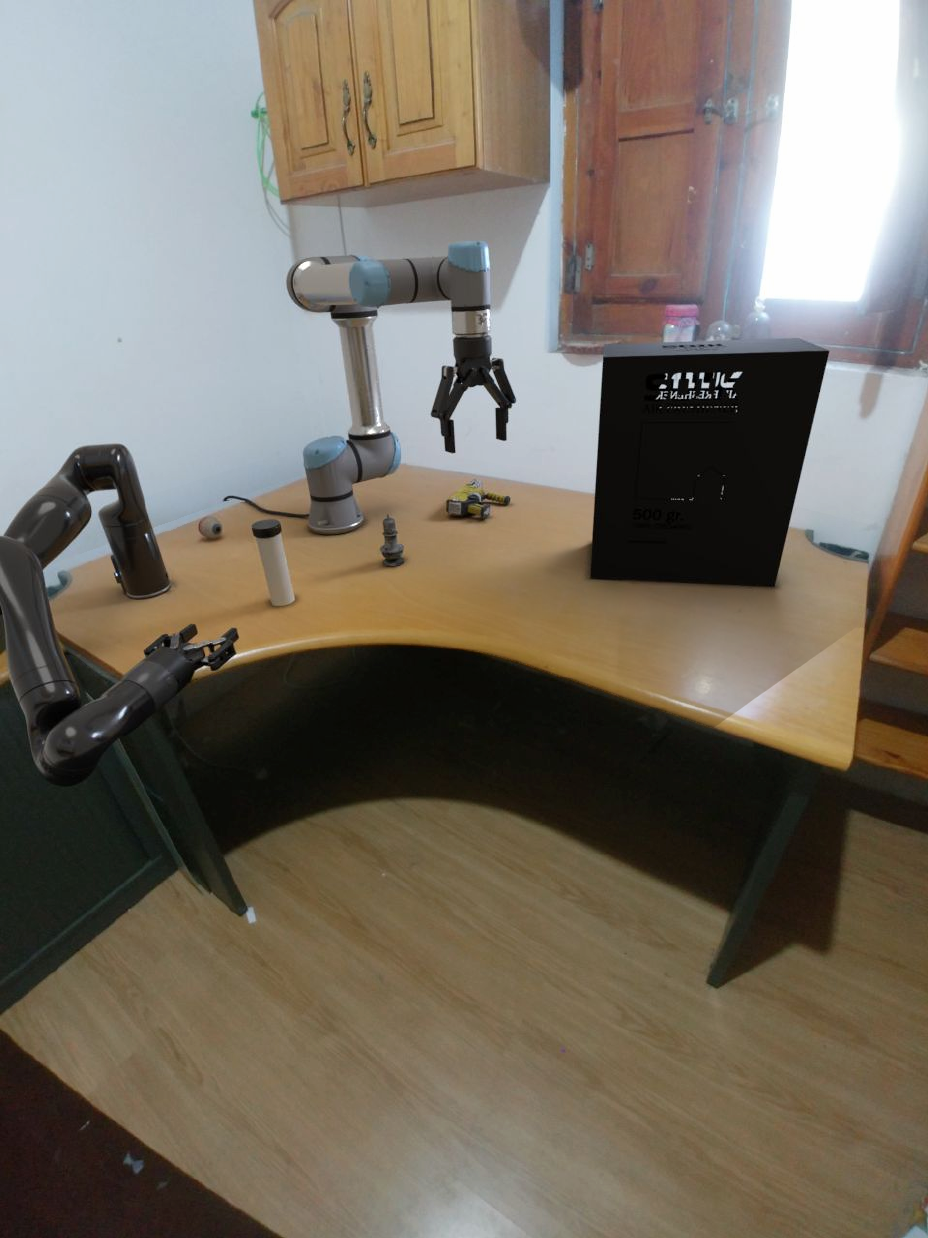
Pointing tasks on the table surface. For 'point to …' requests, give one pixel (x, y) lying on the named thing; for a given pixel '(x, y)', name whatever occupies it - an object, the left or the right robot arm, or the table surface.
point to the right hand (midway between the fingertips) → (476, 445)
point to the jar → (276, 570)
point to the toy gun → (473, 500)
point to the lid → (266, 528)
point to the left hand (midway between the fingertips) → (215, 630)
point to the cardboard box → (701, 458)
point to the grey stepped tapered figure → (391, 544)
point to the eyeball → (210, 527)
